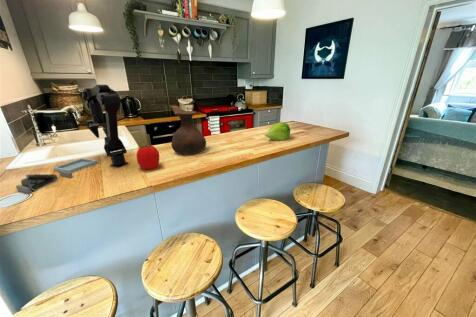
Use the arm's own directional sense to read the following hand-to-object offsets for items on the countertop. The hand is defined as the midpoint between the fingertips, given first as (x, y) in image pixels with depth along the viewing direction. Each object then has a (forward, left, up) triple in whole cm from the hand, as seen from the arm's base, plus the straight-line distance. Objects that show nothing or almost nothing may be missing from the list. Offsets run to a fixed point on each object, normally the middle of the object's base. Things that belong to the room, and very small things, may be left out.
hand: (103, 138), depth 119 cm
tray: (+4, +16, -13) cm, 21 cm away
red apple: (-35, +3, -13) cm, 38 cm away
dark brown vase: (-41, -26, -13) cm, 50 cm away
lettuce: (-90, -69, -13) cm, 114 cm away
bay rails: (-4, +34, -13) cm, 37 cm away
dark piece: (-3, +32, -15) cm, 36 cm away
